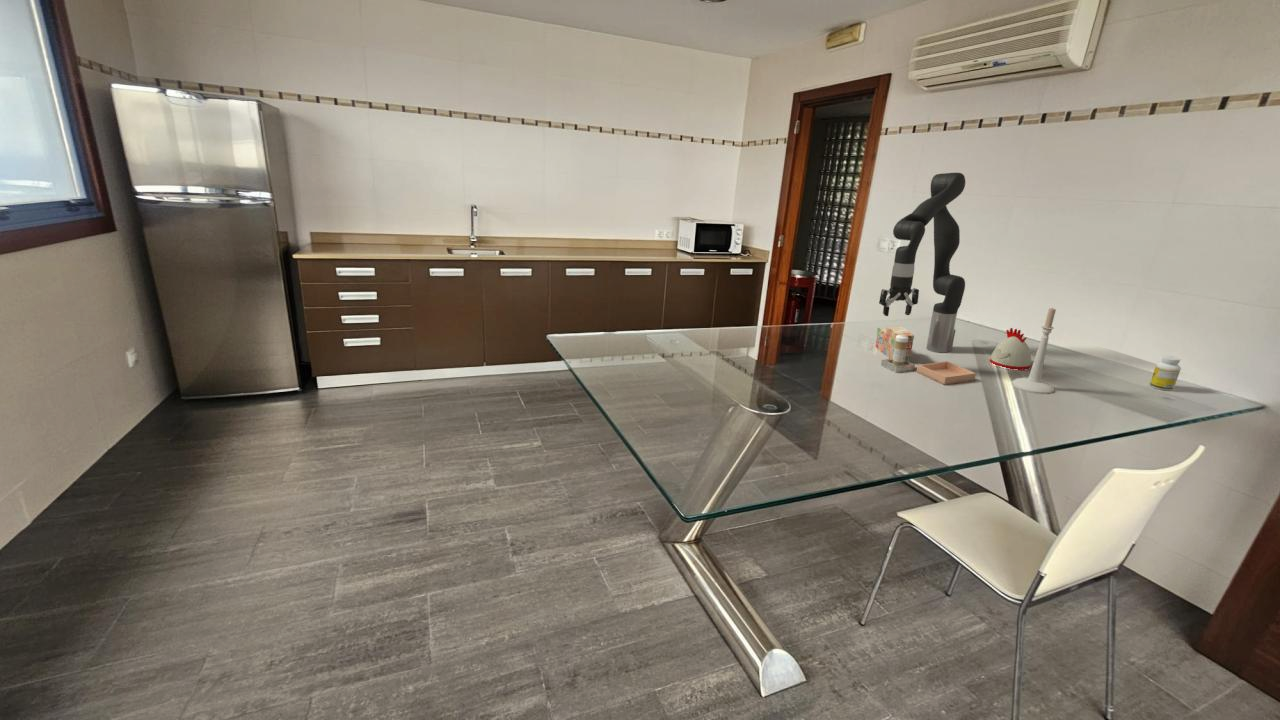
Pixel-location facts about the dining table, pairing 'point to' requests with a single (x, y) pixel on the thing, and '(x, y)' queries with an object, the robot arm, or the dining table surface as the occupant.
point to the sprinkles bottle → (900, 350)
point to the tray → (946, 373)
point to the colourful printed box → (892, 340)
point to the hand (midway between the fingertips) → (896, 315)
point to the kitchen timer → (1012, 352)
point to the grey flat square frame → (901, 368)
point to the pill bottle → (1166, 373)
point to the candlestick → (1038, 364)
